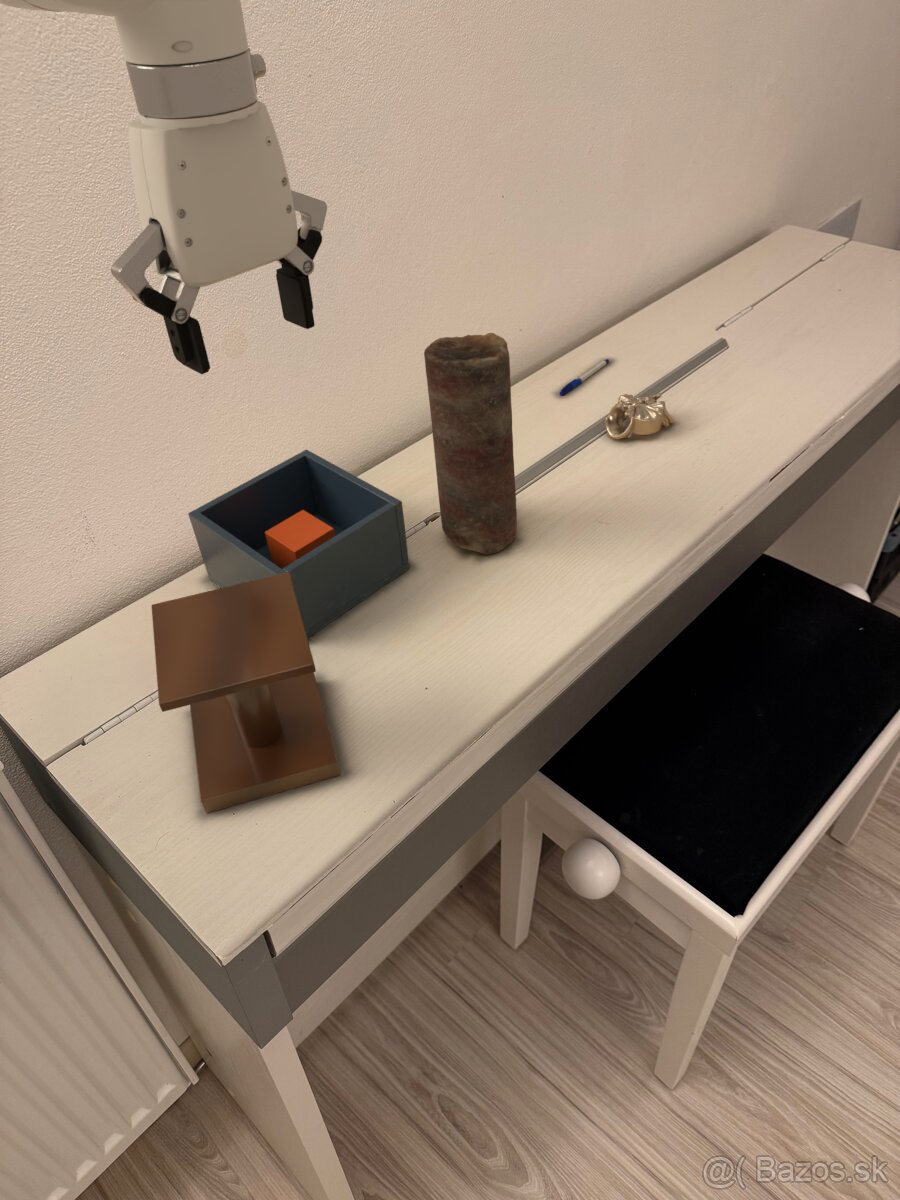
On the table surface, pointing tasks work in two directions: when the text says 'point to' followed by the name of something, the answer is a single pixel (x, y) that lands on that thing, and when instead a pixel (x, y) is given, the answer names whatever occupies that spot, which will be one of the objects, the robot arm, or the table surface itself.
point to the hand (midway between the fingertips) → (249, 345)
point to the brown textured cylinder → (473, 439)
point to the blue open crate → (327, 573)
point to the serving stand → (244, 689)
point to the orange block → (296, 538)
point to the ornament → (637, 416)
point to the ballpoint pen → (582, 378)
